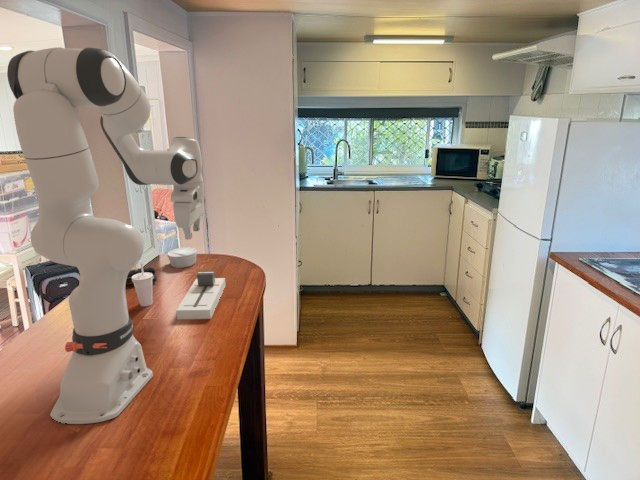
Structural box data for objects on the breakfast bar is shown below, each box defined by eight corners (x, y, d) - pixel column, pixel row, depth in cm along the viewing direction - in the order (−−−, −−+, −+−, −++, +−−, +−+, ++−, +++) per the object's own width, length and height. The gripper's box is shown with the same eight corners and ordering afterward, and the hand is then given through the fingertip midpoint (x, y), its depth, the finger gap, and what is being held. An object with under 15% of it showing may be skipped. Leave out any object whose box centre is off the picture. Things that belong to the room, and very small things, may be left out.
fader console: (210, 318, 128) (210, 309, 127) (177, 319, 128) (175, 310, 127) (225, 285, 151) (225, 277, 150) (197, 286, 150) (196, 278, 150)
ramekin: (165, 269, 166) (163, 257, 164) (172, 259, 177) (171, 247, 175) (195, 268, 167) (193, 255, 165) (200, 258, 177) (199, 246, 176)
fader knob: (213, 285, 143) (212, 274, 141) (197, 285, 142) (196, 274, 141) (215, 282, 145) (214, 270, 144) (200, 282, 145) (198, 270, 144)
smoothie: (160, 299, 141) (154, 259, 136) (151, 308, 134) (145, 267, 130) (141, 299, 141) (135, 259, 137) (131, 307, 135) (125, 266, 131)
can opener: (156, 277, 159) (155, 263, 157) (157, 284, 153) (155, 270, 151) (104, 285, 153) (101, 270, 151) (102, 293, 147) (99, 277, 145)
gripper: (188, 185, 141) (191, 226, 145) (168, 197, 122) (172, 243, 126) (207, 185, 142) (210, 226, 145) (190, 197, 122) (194, 243, 126)
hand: (192, 234), depth 135 cm, fingers open, 8 cm apart
